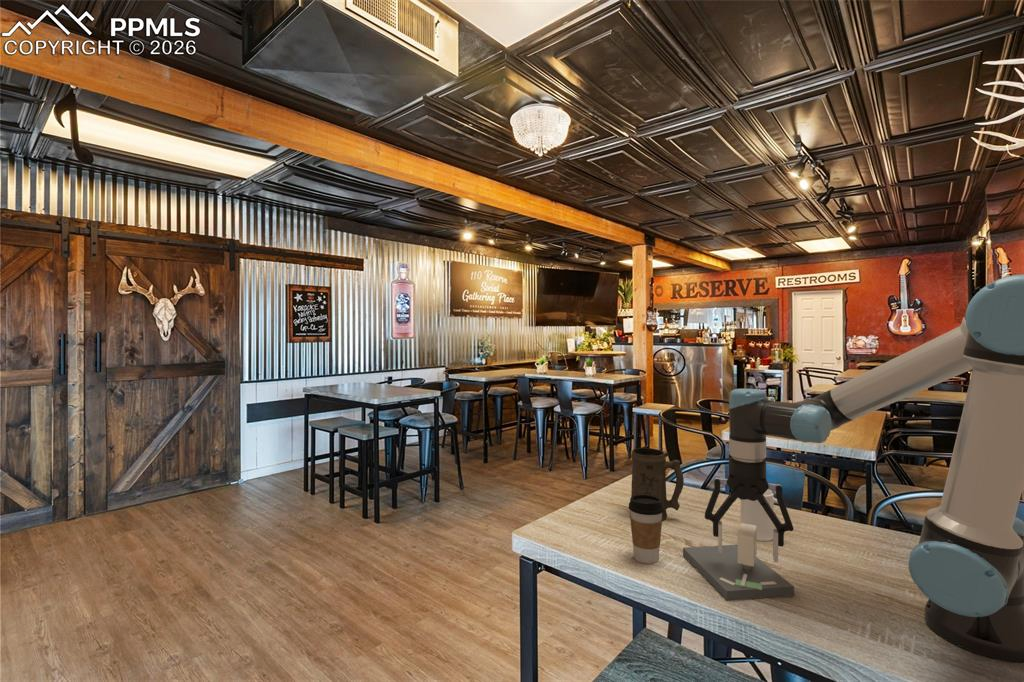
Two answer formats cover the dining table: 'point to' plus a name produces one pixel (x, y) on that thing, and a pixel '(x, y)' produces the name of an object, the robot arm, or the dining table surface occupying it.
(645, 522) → the coffee cup
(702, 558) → the tuner board
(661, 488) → the beer stein
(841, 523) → the dining table surface
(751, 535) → the peg
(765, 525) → the mug
